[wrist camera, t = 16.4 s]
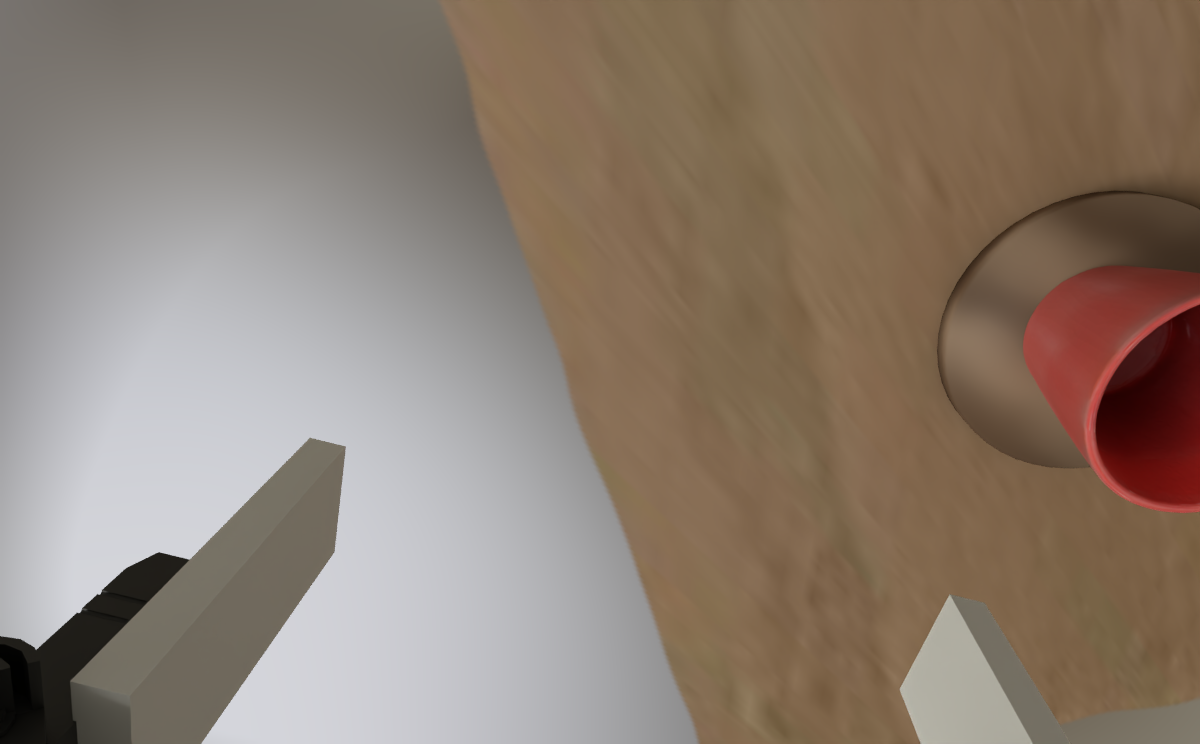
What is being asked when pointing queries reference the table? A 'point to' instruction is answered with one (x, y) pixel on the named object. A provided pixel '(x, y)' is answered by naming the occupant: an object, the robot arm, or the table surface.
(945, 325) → the brown plate
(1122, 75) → the table surface
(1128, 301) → the flower pot
